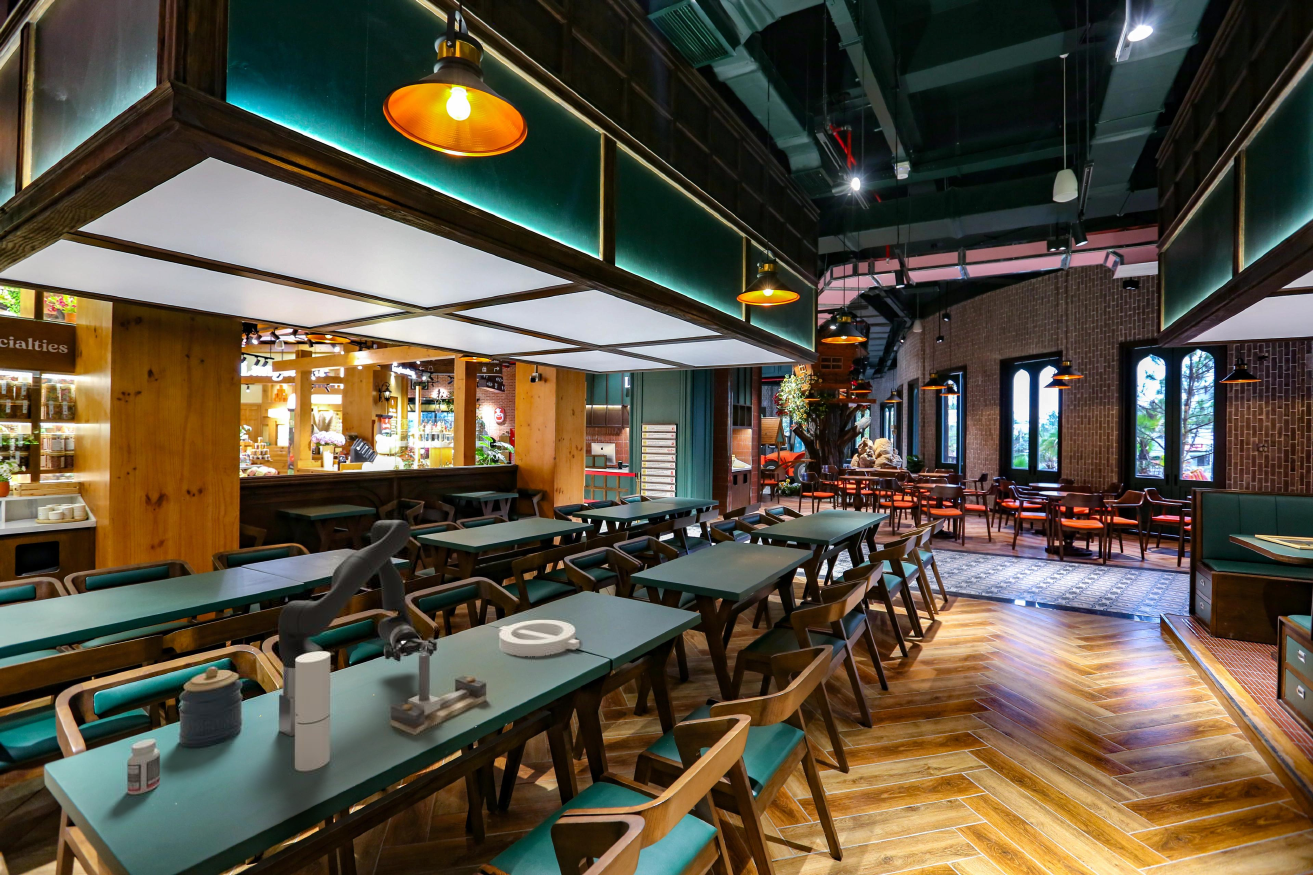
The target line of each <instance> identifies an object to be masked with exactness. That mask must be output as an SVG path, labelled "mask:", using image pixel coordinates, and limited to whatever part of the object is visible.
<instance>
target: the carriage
mask: <svg viewBox="0 0 1313 875" xmlns="http://www.w3.org/2000/svg"><path fill="white" fill-rule="evenodd" d="M430 657H431V656H430V654H428V653H426V652H424V653H419V655H418V695H416V696H414V697H413V696H412V697H411V698H408V699H407V704H412V705H413V707H416V708H418V709H421V710H424V711H425V715H426V714H428V713H430V712H432V711H434V710H437V709H439V708H440V697H436V696H434V695H431V694H430V691H431V690H430V688H431V687H430V686H431V685H430V680H431V679H430V677H431V675H430V673H431V672H430V670H431V668H430V666H431V664H430V662H431V660H430V659H431V658H430Z"/></svg>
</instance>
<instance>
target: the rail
mask: <svg viewBox="0 0 1313 875" xmlns="http://www.w3.org/2000/svg"><path fill="white" fill-rule="evenodd" d="M439 698H440V708H439V709H437V710H434V711H432V712H430V713H428V714H426V715H425V711H424V710H421V709H418V708H416V707H413V705H412V704H408V703H405V702H403V701H400V702H397V703H396V704H393V705H391V706H390V726H392V727H395V728H398V729H400V730H403V731H405V732H407V733H410V734H412V735H417V734H419V733H421V732H423V731H425V730H427V729H429V728H431V727H430V726H432V727H433V725H434V726H436V725H437V723H438V724H439V722H440V723H441V721H442V722H444V721H445V720H448V719H450V718H452V717H454V716H456V715H458V714H460V713H462V712H465V711H466V710H468V709H471V708H472V707H475V706H477V705H479V704H481V703H483V702H485V701H487V682H485V681H481V680H478V679H476V678H475V677H472V676H466V675H461V676H458V677H457V678H455V680H454V691H452V692H449V693H447V694H445V695H442V696H440V697H439ZM453 715H454V716H453ZM451 716H452V717H451ZM435 724H436V725H435ZM428 727H429V728H428ZM426 728H427V729H426ZM424 729H425V730H424ZM422 730H423V731H422ZM420 731H421V732H420Z"/></svg>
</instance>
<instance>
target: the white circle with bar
mask: <svg viewBox="0 0 1313 875" xmlns="http://www.w3.org/2000/svg"><path fill="white" fill-rule="evenodd" d="M498 636H499V638H498V640H499V649H500V650H501V651H502V652H503V653H505V654H508V655H511V656H515V655H516V657H525V656H528V657H530V656H531V657H532V656H535V657H544V656H545V655H546V656H551V655H555V653H556V654H559V653H562V652H564V651H567V650H573V651H574V650H577V649H578V648H580V640H579V639H576V628H575V626H574V625H573V624H571V623H568V622H565V621H561V620H555V619H554V620H553V619H535V620H526V621H520V622H516V623H514V624H513V623H512V624H511V625H507V626H506V625H504V626H501V627H499V628H498ZM566 649H567V650H566ZM550 654H551V655H550ZM532 658H533V657H532Z"/></svg>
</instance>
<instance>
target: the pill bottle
mask: <svg viewBox="0 0 1313 875" xmlns="http://www.w3.org/2000/svg"><path fill="white" fill-rule="evenodd" d="M160 751H161V750H159V748H158V749H157V741H156V739H154V738H149V739H147V738H146V739H143V740H140V741H138V742H135V743H134V744H132V745H131V755H130V756H129V757H128V758H127V761H126V762H127V763H126V764H127V766H126V768H127V771H126V772H127V773H126V775H127V777H126V778H127V779H126V781H127V784H126V785H127V788H126V789H127V794H129V795H140V794H144V793H146V792H147V793H148V792H150V791H152V790H153V789H155V788H157V787H158V786H159V785H160V782H161V774H160V773H161V752H160Z"/></svg>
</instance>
